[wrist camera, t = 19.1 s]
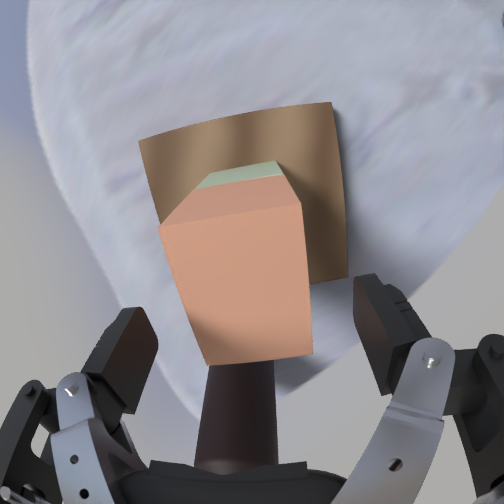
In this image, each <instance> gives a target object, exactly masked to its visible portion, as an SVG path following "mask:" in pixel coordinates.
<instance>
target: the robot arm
mask: <svg viewBox="0 0 504 504" xmlns="http://www.w3.org/2000/svg"><path fill="white" fill-rule="evenodd" d="M503 24H504V14H503ZM353 317H354V323H355V327H356V329H357V332H358V334H359V337H360V339H361V342H362V344H363V347H364V350H365V352H366V355H367V357H368V360H369V363H370V365H371V368H372V371H373V373H374V376H375V379H376V382H377V384H378V388H379V391H380V393H381V396H384V395H387V394H390V393H392V396H393V397H392V399H391V402H390V404H389V406H388V407H387V408H386V410H385V412H384V414H383V416H382V418H381V420H380V423H379V425H378V427H377V429H376V431H375V433H374V434H373V436H372V439H371V440H370V442H369V444H368V446H367V448H366V449H365V451H364V453H363V455H362V456H361V458H360V460H359V461H358V463H357V465H356V466H355V468H354V470H353V471H352V473H351V475H350V476H349V478H348V479H346V478H344V477H341V476H339V475H336V474H333V473H329V472H326V471H320V470H311V469H307V462H306V461H305V462H297V463H288V464H276V465H264V466H260V467H257V468H253V469H249V470H245V471H240V472H236V473H231V474H226V475H220V474H215V473H212V472H208V471H205V470H201V469H198V468H195V467H192V466H188V465H186V464H178V463H169V462H162V461H155V460H151V462H150V466H149V469H148V468H147V467H146V466H145V464H144V463H143V462H142V461H141V459H140V457H139V456H138V453H137V451H136V449H135V447H134V444H133V442H132V440H131V437H130V435H129V433H128V430H127V428H126V425H125V423H124V421H123V420H122V419H121V416H122V413H126V414H135V411H136V409H137V406H138V403H139V400H140V397H141V394H142V391H143V389H144V386H145V383H146V381H147V378H148V375H149V372H150V370H151V367H152V364H153V362H154V359H155V356H156V354H157V351H158V339H157V336H156V334H155V332H154V330H153V328H152V326H151V324H150V321H149V319H148V317H147V315H146V313H145V311H144V309H143V308H142V307H131V308H123V309H122V310H121V312H120V313H119V315H118V316H117V318H116V320H115V321H114V322H113V323H112V324H111V325H110V326H109V327H108V328H107V329H106V330H105V331H104V333H103V334H102V336H101V338H100V340H99V341H98V343H97V344H96V347H95V348H94V349H93V351H92V353H91V355H90V356H89V358H88V360H87V361H86V363H85V365H84V367H83V368H82V370H81V372H74V373H71V374H69V375H67V376H65V377H64V378H63V379H62V380H61V381H60V383H59V384H58V386H57V388H52V389H46V388H45V387H44V386H43V385H42V383H41V382H40V381H38V380H31V381H29V382H27V383H26V384H25V385H24V386H23V387H22V389H21V390H20V391H19V393H18V395H17V397H16V399H15V401H14V403H13V404H12V406H11V408H10V410H9V412H8V414H7V416H6V418H5V420H4V422H3V424H2V426H1V429H0V504H62V501H63V502H64V504H413V503H414V501H415V499H416V497H417V495H418V493H419V491H420V489H421V486H422V484H423V482H424V480H425V478H426V475H427V473H428V470H429V468H430V466H431V463H432V460H433V458H434V455H435V453H436V450H437V447H438V444H439V441H440V438H441V435H442V432H443V428H444V421H443V420H442V416H445V415H453V418H454V420H455V423H456V426H457V429H458V432H459V435H460V438H461V441H462V444H463V447H464V450H465V454H466V456H467V460H468V464H469V467H470V471H471V474H472V479H473V483H474V487H475V492H476V496H477V499H476V501H475V502H474V503H473V504H504V336H502V335H498V334H489V335H487V336H485V337H483V338H482V340H481V341H480V343H479V345H478V347H477V349H464V350H453V349H452V347H451V346H450V345H449V344H448V343H447V342H445V341H443V340H441V339H438V338H432V337H431V335H430V333H429V332H428V330H427V329H426V327H425V326H424V324H423V323H422V321H421V320H420V318H419V316H418V315H417V313H416V312H415V311H414V310H413V309H412V306H411V305H410V303H409V302H407V299H406V297H405V296H404V295H403V293H402V292H401V291H400V290H399V289H397V288H396V287H394V286H392V285H391V284H388V285H383V284H382V283H381V281H380V280H379V278H378V277H377V275H376V274H375V273H372V274H367V275H362V276H356V277H354V288H353ZM39 423H40V424H41V425H42V426H43V427H44V428H45V429H46V430H47V431H48V432H49V436H48V438H47V441H46V444H45V446H44V449H43V451H42V454H41V457H40V458H39V457H37V456H36V455H35V454H34V453H33V452H32V449H31V441H32V438H33V436H34V434H35V432H36V429H37V427H38V425H39Z"/></svg>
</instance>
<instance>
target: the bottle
mask: <svg viewBox="0 0 504 504" xmlns="http://www.w3.org/2000/svg"><path fill="white" fill-rule="evenodd" d="M277 440H278V439H277V418H276V399H275V381H274V363H273V360H267V361H258V362H248V363H237V364H224V365H210V366H209V372H208V378H207V384H206V390H205V396H204V402H203V409H202V415H201V421H200V428H199V435H198V441H197V447H196V454H195V461H194V467H195V468H198V469H201V470H205V471H208V472H212V473H215V474H220V475H226V474H231V473H236V472H240V471H245V470H249V469H253V468H257V467H260V466H264V465H276V464H278V463H279V462H278V441H277Z"/></svg>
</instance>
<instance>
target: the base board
mask: <svg viewBox="0 0 504 504" xmlns="http://www.w3.org/2000/svg"><path fill="white" fill-rule="evenodd" d="M138 143H139V147H140V151H141V155H142V159H143V163H144V167H145V171H146V175H147V179H148V183H149V186H150V190H151V193H152V197H153V201H154V204H155V208H156V211H157V214H158V218H159V221H160V224H162V223H163V221H164V220H165V219H166V218H167V217H168V216H169V215H170V214H171V213H172V212H173V211H174V209H175V208H176V207H177V206H178V205H179V204H180V203H181V202H182V201H183V200H184V199H185V198H186V197H187V196H188V195H189V194H190V193H191V192H192V191H193V190H194V189H195V188H196V187H197V186H198V185H199V184H200V183H201V182H202V181H203V180H204V179H205V178H206V177H207V176H208V175H209V174H210V173H214V172H219V171H223V170H228V169H233V168H238V167H243V166H248V165H253V164H259V163H265V162H270V161H276V162H277V164H278V166H279V167H280V169H281V171H282V172H283V174H284V175H285V177H286V179H287V180H288V182H289V184H290V185H291V187H292V189H293V190H294V192H295V194H296V196H297V197H298V199H299V201H300V203H301V206H302V215H303V224H304V234H305V244H306V254H307V265H308V277H309V284H313V283H319V282H324V281H330V280H335V279H341V278H346V277H348V252H347V231H346V215H345V202H344V191H343V181H342V171H341V163H340V155H339V147H338V140H337V133H336V126H335V120H334V114H333V108H332V103H331V102H324V103H313V104H303V105H294V106H287V107H279V108H272V109H266V110H260V111H254V112H248V113H243V114H238V115H233V116H228V117H223V118H219V119H214V120H210V121H206V122H202V123H198V124H194V125H190V126H186V127H182V128H179V129H175V130H172V131H168V132H165V133H162V134H158V135H155V136H152V137H149V138H146V139H143V140H140V141H138Z"/></svg>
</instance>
